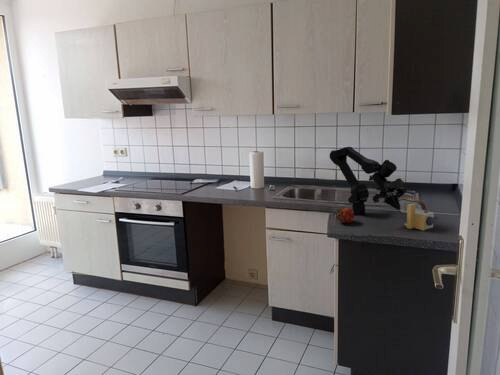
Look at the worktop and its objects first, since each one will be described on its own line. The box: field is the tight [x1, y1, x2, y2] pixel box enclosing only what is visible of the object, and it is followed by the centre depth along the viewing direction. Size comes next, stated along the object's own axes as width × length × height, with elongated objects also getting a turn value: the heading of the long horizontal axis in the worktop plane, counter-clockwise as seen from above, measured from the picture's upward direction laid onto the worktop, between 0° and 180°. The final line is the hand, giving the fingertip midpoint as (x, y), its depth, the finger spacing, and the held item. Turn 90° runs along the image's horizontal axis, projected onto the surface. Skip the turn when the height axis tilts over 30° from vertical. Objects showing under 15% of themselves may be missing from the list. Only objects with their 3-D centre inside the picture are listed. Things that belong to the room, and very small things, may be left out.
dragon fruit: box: [335, 206, 356, 224], centre depth 191 cm, size 8×8×12 cm
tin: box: [398, 197, 427, 215], centre depth 200 cm, size 15×3×8 cm, turn 35°
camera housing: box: [404, 209, 435, 230], centre depth 180 cm, size 11×7×8 cm, turn 30°
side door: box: [406, 204, 426, 231], centre depth 176 cm, size 7×4×11 cm, turn 30°
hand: (399, 209), depth 183 cm, fingers closed
